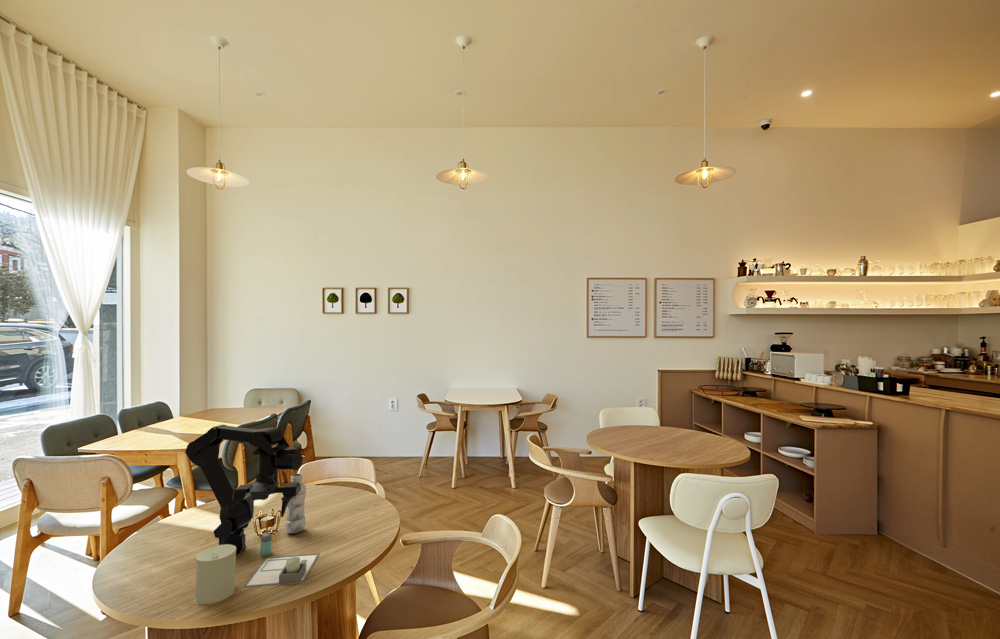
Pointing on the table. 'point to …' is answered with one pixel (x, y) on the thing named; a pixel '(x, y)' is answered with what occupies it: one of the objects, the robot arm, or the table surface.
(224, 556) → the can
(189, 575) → the table surface
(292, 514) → the plastic bottle
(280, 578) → the activity board
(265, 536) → the teal cylinder
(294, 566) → the key
